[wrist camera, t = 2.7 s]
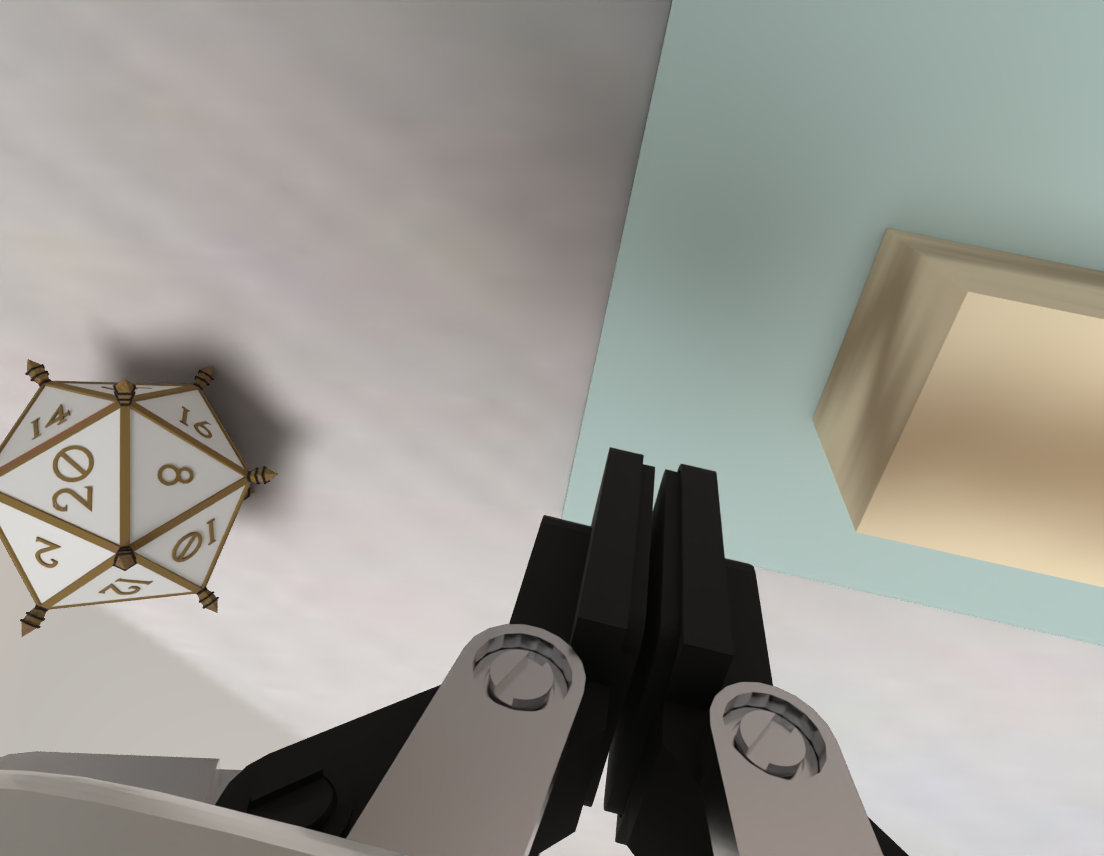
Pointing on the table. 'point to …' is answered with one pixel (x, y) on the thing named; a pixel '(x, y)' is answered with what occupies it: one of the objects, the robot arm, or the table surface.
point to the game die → (118, 492)
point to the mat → (833, 253)
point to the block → (973, 406)
